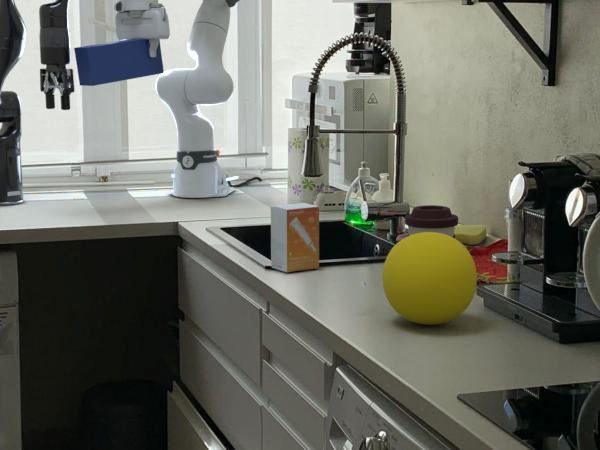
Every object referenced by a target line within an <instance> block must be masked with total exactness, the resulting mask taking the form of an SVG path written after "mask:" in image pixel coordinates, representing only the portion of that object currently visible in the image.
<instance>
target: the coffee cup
mask: <svg viewBox="0 0 600 450" xmlns="http://www.w3.org/2000/svg"><path fill="white" fill-rule="evenodd" d="M404 225H406V226H407V227H408V228H407V230H408V233H407V236H406V237H408V236H410V235H413V234H417V233H422V232H437V233H442V234H445V235H448V236H451V237H453V238H455V239H456V235H455V229H456V228H455V227H456V226H458V225H459V216H458V215H456V214H453V213H452V211H451V208H450V207H448V206H444V205H437V204H436V205H434V204H433V205H431V204H429V205H426V204H425V205H418V206H414V207H413V208H412V210H411V213H408V214H406V215H405V216H404Z"/></svg>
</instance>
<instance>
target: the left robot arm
mask: <svg viewBox="0 0 600 450" xmlns="http://www.w3.org/2000/svg"><path fill="white" fill-rule="evenodd" d="M69 3H70V0H55V1H53V2H49V3H44V4H41V5H40V6H39V8H38V9H39V10H38V16H39V18H38V19H39V36H38V37H39V38H38V39H39V55H40V57H39V59H40V64H41V65H45V68H40V69H39V86H40V92H43V94H44V96H45V109H47V110H52V109H53V110H54V109H55V108H56V101H55V100H56V99H55V91H56V89H58V92H59V94H60V109H61V111H70V110H71V97H70V96H71V95H72V93H75V81H74V80H75V79H74V70H73V68H67V66H66V65H70V64H71V62H72V61H71V59H72V58H71V39H70V37H71V36H70V32H69V18H68V17H69V16H68V15H69V14H68V13H69V12H68V10H69ZM26 39H27V27H26V24H25V22H24V20H23V17H22V15H21V13H20V11H19V9H18V7H17V4H16V2H15V0H0V124H1V127H0V206H11V205H21V204H23V203H24V202H25V201H24V187H23V170H22V169H23V168H22V167H23V166H22V151H21V138H22V103H21V102H22V101H21V99H20V97H19V95H18V93H17V92H16V91H13V90H3V87H4V83H5V81H6V78H8V75H9V74H10V73H11V71H12V70H13V68H14V67H15V66H16V65H17V64H18V62H19V61H20V59H21V57H22V56H23V54H24V50H25V45H26Z"/></svg>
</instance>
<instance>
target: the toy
mask: <svg viewBox="0 0 600 450" xmlns="http://www.w3.org/2000/svg"><path fill="white" fill-rule="evenodd" d="M407 236H408V235H407ZM407 236H406V237H404V238H403V239H401V240H399V241H398V242H397V243H396V244H395V245H394V246H393V247H392V248H391V249H390V250H389V252H388V254H387V255H386V258H385V260H384V263H383V268H382V276H381V277H382V287H383V291H384V295H385V297H386V300H387V302H388V303H389V305H390V306H391V308H392V309H393V310H394V311H395V312H396V313H397V314H398V315H399V316H401V317H402V318H404V319H405V320H407V321H410V322H413V323H415V324H419V325H420V324H421V325H427V326H428V325H429V326H431V325H432V326H433V325H440V324H445V323H449V322H450V321H452V320H454V319H456V318H457V317H459V316H461V315H462V314H463V313H464V312H465V311H466V310H467V309H468V307H469V306H470V305H471V303H472V301H473V299H474V296H475V293H476V290H477V284H478V275H477V268H476V263H475V261H474V258H473V257H472V255H471V253H470V251H469V250H468V248H467V247H466V246H465V245H464V244H463V243H462V242H461V241H460V240H458V239H456V237H455V238H453V237H451V236H448V235H445V234H442V233H437V232H422V233H417V234H413V235H410V236H408V237H407Z"/></svg>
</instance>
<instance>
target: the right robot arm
mask: <svg viewBox="0 0 600 450" xmlns="http://www.w3.org/2000/svg"><path fill="white" fill-rule="evenodd" d="M239 1H240V0H202V2H201V3H200V6H199V8H198V10H197V12H196V15H195V18H194V21H193V24H192V26H191V30H190V34H189V36H188V41H187V45H186V48H187V53H188V55H189V56H190V57H191V58H192V59H193V60H194V61H196V65H195V67H194V68H174V69H169V70H164V73H162V74H158V77H157V79H156V81H155V91H156V94H157V96H158V98H159V99H160V101H162V102H163V103H164V104H165V105H166V106H167V107H168V109H169V110H170V112H171V114H172V116H173V119H174V123H175V126H176V133H177V134H176V135H177V150H176V155H175V156H176V162H177V164H176V166H175V167H174V168H173V173H172V174H171V178H173V180H172V189H171V190H169V195H171V196H174V197H177V198H185V199H186V198H189V199H197V198H198V199H201V198H202V199H203V198H215V197H216V198H217V197H218V198H219V197H220V198H221V197H226V196H228V195H229V194H231V193H233V192H234V191H236V189H235V188H240V187H242V186H245V185H248V184H249V183H251V182H254V181H255V180H258V182H263V179H262V178H261V177H260V176H254V177H251V178H249V179H246V180H245V181H243V182H239V183H238V184H232V183H231V181H234V180H238V179H239V176H238V175H236V176H232V177H228V173H227V172H226V171H225V170H224V169H223V167H222V166H221V165H220V164H219V163H218V157H220V153H221V151H220V149H215V140H214V139H215V138H214V137H215V135H214V125H213V124H212V122H211V120H210V119H208V118H206V117H205V116H204V115H203V114H202V112H201V110H200V109H199V106H216V105H220V104H224V103H227V102H229V100H230V99H231V98H232V96H233V93H234V88H235V87H234V81H233V78H232V76H231V75H230V74H229V72H228V71H227V70H226V69H225V67H224V64H223V54H224V49H225V44H226V40H227V37H228V32H229V28H230V22H231V8H234V7H235V6H236V5H237V3H238V2H239ZM113 9H114V12H115V13H116V14H115V17H114V19H115V20H114V25H115V35H116V38H117V39H118V41H123V40H129V39H149V44H150V49H149V50H147V52H148V57H156V50H157V47H158V44H159V39H160V40H169V38H170V35H171V30H170V29H171V28H170V21H169V16H168V13H167V10H166V9H167V8H166V7H165V6H164V4H163V3H159V0H118V1H117V2H116V3H114V5H113Z"/></svg>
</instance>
